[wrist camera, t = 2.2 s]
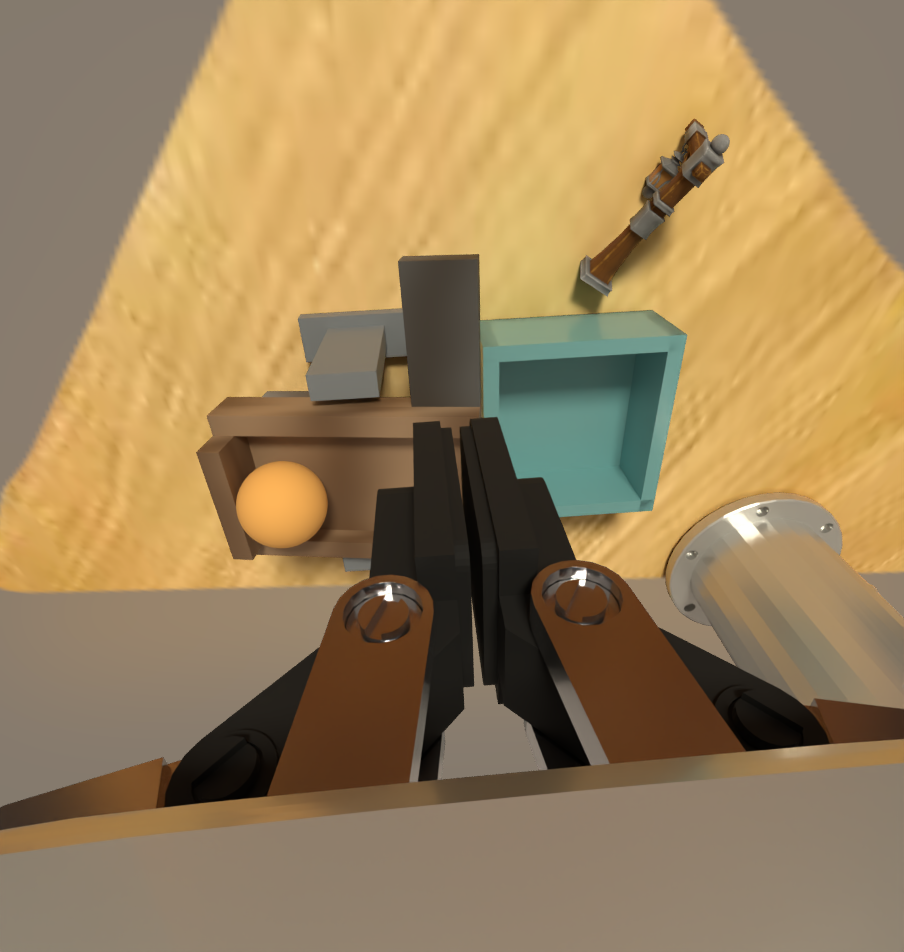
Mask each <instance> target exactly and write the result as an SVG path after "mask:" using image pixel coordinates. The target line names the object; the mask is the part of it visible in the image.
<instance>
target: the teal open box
mask: <svg viewBox="0 0 904 952" xmlns="http://www.w3.org/2000/svg"><path fill="white" fill-rule="evenodd" d="M686 339H687V334H686V333H684V332H683V331H681V330H680V329H678V328H677V327H676V326H674V325H673V324H671V323H670V322H668V321H667V320H666V319H664V318H663V317H661V316H660V315H658V314H657V313H656V312H654V311H653V310H646V311H630V312H613V313H596V314H580V315H563V316H546V317H530V318H513V319H496V320H480V348H481V416H482V418H488V417H498V420H499V423H500V426H501V429H502V433H503V436H504V439H505V442H506V445H507V448H508V452H509V455H510V458H511V461H512V464H513V467H514V470H515V474H516V477H517V479H521V478H535V477H542V478H543V479H544V481H545V482H546V485H547V487H548V490H549V492H550V495H551V498H552V500H553V503H554V505H555V508H556V510H557V513H558V515H559V517H567V516H582V515H596V514H610V513H625V512H639V511H652V509H653V504H654V499H655V494H656V489H657V484H658V479H659V474H660V469H661V464H662V459H663V454H664V449H665V444H666V439H667V434H668V429H669V424H670V419H671V414H672V409H673V404H674V399H675V394H676V389H677V384H678V379H679V374H680V369H681V364H682V359H683V354H684V349H685V344H686Z"/></svg>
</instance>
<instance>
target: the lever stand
mask: <svg viewBox="0 0 904 952" xmlns="http://www.w3.org/2000/svg"><path fill="white" fill-rule="evenodd" d="M298 322H299V327H300V332H301V337H302V342H303V347H304V352H305V357H306V362H312V363H311V365H310V367H309V369H308V371H307V373H306V380H307V385H308V390H309V395H310V400H311V401H324V400H339V399H355V398H371V397H379V396H380V389H381V383H382V376H383V369H384V362H385V357H400V356H407V352H406V341H405V330H404V320H403V309H385V310H369V311H352V312H335V313H318V314H301V315H300V316H299V318H298ZM343 562H344V567H345V571H346V572H347V571H361V570H370V567H371V559H369V558H343Z"/></svg>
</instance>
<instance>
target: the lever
mask: <svg viewBox="0 0 904 952" xmlns="http://www.w3.org/2000/svg"><path fill="white" fill-rule="evenodd" d="M398 266H399V276H400V287H401V298H402V309H403V320H404V330H405V341H406V352H407V363H408V374H409V384H410V395H411V397H371V398H355V399H339V400H324V401H311V400H310V395H309V391H267V392H266V393H265V394H264V395H263V396H262V397H227V398H226V399H225V400H224V401H223V402H221V403H220V404H219V405H218V406H217V407H216V408H215V409H214V410H213V411H211V412H210V413H209V414H208V415H207V419H208V422H209V425H210V428H211V431H212V434H213V436H212V437H211V438H210V439H209V440H208V441H207V442H206V443H205V444H204V445H203V446H202V447H201V448H200V449H199V450H198V451H197V452H196V453H197V456H198V459H199V462H200V465H201V468H202V470H203V473H204V476H205V479H206V482H207V485H208V488H209V490H210V493H211V496H212V499H213V502H214V505H215V508H216V510H217V513H218V516H219V519H220V522H221V525H222V527H223V530H224V533H225V536H226V539H227V542H228V545H229V547H230V550H231V553H232V556H233V559H245V560H253V559H254V558H255V556H256V555H283V556H312V557H340V558H369V559H371V556H372V544H373V533H374V522H375V511H376V500H377V491H378V489H386V488H400V487H413V486H414V469H413V423H416V422H431V421H440V425H441V428H447V427H451V429H452V435H453V442H454V449H455V456H456V463H457V469H458V476H459V483H460V490H461V497H462V480H461V455H460V427H461V426H469V422H470V419H474V418H482V416H481V348H480V280H479V254H471V255H435V256H403V257H402V258H401V259H400V260H399V261H398ZM276 461H289V462H294V463H298V464H301V465H303V466H305V467H307V468H308V469H310V470H311V471H312V472H313V473H314V474H315V475H316V476H317V477H318V478H319V479H320V481H321V482H322V484H323V486H324V488H325V491H326V494H327V500H328V508H327V514H326V517H325V520H324V522H323V524H322V526H321V528H320V529H319V530H318V531H317V533H316V534H315V535H314V536H313V537H311V538H310V539H309V540H307V541H306V542H304V543H302V544H300V545H297V546H294V547H290V548H272V547H268V546H265V545H262V544H260V543H258V542H257V541H255V540H254V539H252V538H251V537H250V536H249V535H248V534H247V533H246V532H245V530H244V529H243V528H242V526H241V524H240V522H239V520H238V516H237V511H236V499H237V495H238V491H239V489H240V487H241V485H242V483H243V481H244V480H245V479H246V478H247V476H248V475H249V474H250V473H252V472H253V471H254V470H255V469H257V468H259V467H260V466H262V465H265V464H267V463H271V462H276Z"/></svg>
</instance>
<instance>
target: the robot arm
mask: <svg viewBox="0 0 904 952" xmlns="http://www.w3.org/2000/svg"><path fill="white" fill-rule="evenodd" d="M460 455H461V480H462V497H461V490H460V483H459V476H458V469H457V463H456V456H455V449H454V442H453V435H452V429H451V427H447V428H441V425H440V421H431V422H416V423H413V469H414V486H413V487H400V488H386V489H378V491H377V500H376V511H375V522H374V533H373V544H372V556H371V567H370V578H369V579H366V580H362V581H361V582H359V583H357V584H355V585H354V586H352V587H350V588H349V589H348V590H347V591H346V592H345V593H344V594H343V595H342V596H341V597H340V598H339V599H338V601H337V603H336V605H335V607H334V608H333V611H332V614H331V616H330V619H329V622H328V625H327V628H326V630H325V633H324V636H323V639H322V642H321V644H320V647H319V648H318V649H316V650H315V651H314V652H313V653H311V654H310V655H309V656H307V657H306V658H305V659H304V660H302V661H301V662H300V663H298V664H297V665H296V666H295V667H293V668H292V669H291V670H289V671H288V672H287V673H286V674H285V675H283V676H282V677H281V678H279V679H278V680H277V681H275V682H274V683H273V684H272V685H271V686H269V687H268V688H267V689H265V690H264V691H263V692H261V693H260V694H259V695H258V696H256V697H255V698H254V699H252V700H251V701H250V702H249V703H247V704H246V705H245V706H243V707H242V708H241V709H240V710H238V711H237V712H236V713H235V714H233V715H232V716H231V717H229V718H228V719H227V720H226V721H225V722H223V723H222V724H221V725H219V726H218V727H217V728H215V729H214V730H213V731H212V732H210V733H209V734H208V735H206V736H205V737H204V738H203V739H201V740H200V741H199V742H198V743H197V744H196V745H195V746H194V747H193V748H192V749H191V750H190V751H189V752H188V753H187V754H186V755H185V756H184V757H183V759H182V760H180V761H176V762H173V763H170V764H167V762H166V761H165V759H164V757H162V758H159V759H155V760H152V761H148V762H145V763H142V764H139V765H135V766H132V767H129V768H125V769H122V770H119V771H116V772H112V773H109V774H106V775H103V776H99V777H96V778H92V779H89V780H86V781H83V782H79V783H76V784H73V785H69V786H66V787H63V788H59V789H56V790H53V791H50V792H47V793H43V794H40V795H37V796H33V797H30V798H26V799H23V800H20V801H17V802H14V803H10V804H7V805H4V806H2V807H0V952H904V618H903V617H902V616H901V615H900V614H899V613H898V612H897V611H896V610H895V609H894V608H893V607H892V606H891V605H890V604H889V603H888V602H887V601H886V600H885V599H884V598H883V597H882V596H881V595H880V594H879V593H878V591H877V589H876V587H874V586H872V585H870V584H868V583H867V582H866V581H865V580H864V579H863V578H862V577H861V576H860V575H859V574H858V573H857V572H856V571H855V570H854V569H853V568H852V567H851V566H850V565H849V564H848V563H847V562H846V561H845V560H844V559H843V558H842V557H841V556H840V554H841V549H842V532H841V529H840V526H839V523H838V522H837V521H836V519H835V518H834V517H833V515H832V514H831V513H830V512H828V511H827V510H826V509H825V508H824V507H823V506H822V505H820V504H819V503H817V502H816V501H814V500H812V499H810V498H808V497H805V496H801V495H797V494H792V493H768V494H759V495H755V496H751V497H747V498H743V499H740V500H738V501H735V502H733V503H730V504H728V505H725V506H723V507H722V508H720V509H718V510H716V511H714V512H713V513H711V514H709V515H708V516H706V517H705V518H704V519H702V520H701V521H700V522H698V523H697V524H696V525H695V526H694V527H693V528H692V529H691V530H689V531H688V532H687V533H686V534H685V535H684V536H683V538H682V539H681V541H680V542H679V543H678V545H677V546H676V547H675V549H674V551H673V553H672V555H671V557H670V559H669V561H668V565H667V569H666V586H667V590H668V594H669V595H670V597H671V599H672V601H673V603H674V604H675V606H676V607H677V608H678V610H679V611H680V612H681V613H682V614H683V615H685V616H686V617H688V618H689V619H691V620H692V621H695V622H698V623H700V624H703V625H708V626H712V627H713V629H714V630H715V632H716V633H717V635H718V637H719V638H720V640H721V642H722V643H723V645H724V646H725V648H726V650H727V651H728V653H729V655H730V656H731V658H732V660H733V661H734V663H735V664H736V666H737V667H736V666H734V665H732V664H730V663H728V662H726V661H724V660H722V659H720V658H718V657H716V656H714V655H712V654H710V653H709V652H706V651H705V650H703V649H701V648H699V647H696V646H695V645H693V644H691V643H688V642H687V641H685V640H683V639H681V638H679V637H677V636H675V635H673V634H671V633H669V632H667V631H665V630H663V629H661V628H659V627H658V626H657V625H656V623H655V622H654V621H653V619H652V618H651V616H650V615H649V613H648V612H647V611H646V609H645V608H644V607H643V605H642V604H641V602H640V601H639V600H638V598H637V597H636V595H635V594H634V592H633V591H632V590H631V588H630V587H629V585H628V584H627V583H626V582H625V581H624V580H623V579H622V578H621V577H620V576H619V575H618V574H616V573H615V572H613V571H612V570H610V569H608V568H607V567H604V566H601V565H599V564H596V563H593V562H587V561H580V560H576V558H575V556H574V553H573V551H572V548H571V546H570V543H569V541H568V538H567V535H566V533H565V530H564V528H563V525H562V523H561V520H560V518H559V515H558V513H557V510H556V508H555V505H554V503H553V500H552V498H551V495H550V492H549V490H548V487H547V485H546V482H545V481H544V479H543V478H542V477H535V478H521V479H517V477H516V474H515V470H514V467H513V464H512V461H511V458H510V455H509V452H508V448H507V445H506V442H505V439H504V436H503V433H502V429H501V426H500V423H499V420H498V417H488V418H474V419H470V422H469V426H461V427H460ZM471 597H472V604H473V612H474V618H475V627H476V633H477V641H478V648H479V656H480V663H481V670H482V678H483V684H484V685H495V687H496V693H497V700H498V704H504V706H506V707H507V708H509V709H510V710H511V711H513V712H514V713H515V714H517V715H518V716H520V717H521V718H522V719H524V727H525V732H526V736H527V739H528V742H529V745H530V747H531V750H532V753H533V756H534V759H535V761H536V764H537V767H538V771H528V772H517V773H506V774H496V775H485V776H475V777H464V778H454V779H443V780H442V770H443V759H444V749H445V734H444V731H445V730H446V728H447V727H448V726H449V725H450V724H451V723H452V722H453V721H454V720H455V719H456V717H457V716H458V715H459V714H460V713H461V712H462V711H463V710H464V694H463V687H472V686H474V668H473V637H472V607H471V606H472V605H471Z"/></svg>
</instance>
